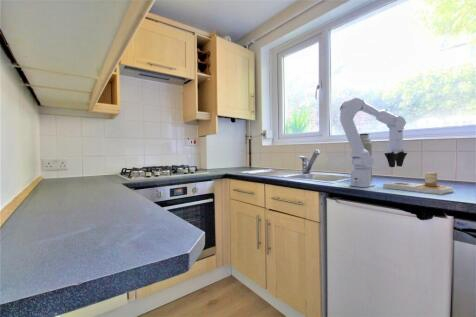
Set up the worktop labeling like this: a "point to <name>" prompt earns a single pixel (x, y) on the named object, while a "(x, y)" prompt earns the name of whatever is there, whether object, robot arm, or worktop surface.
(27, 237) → the worktop surface
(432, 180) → the peg
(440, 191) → the rail plate
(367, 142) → the thermos bottle
